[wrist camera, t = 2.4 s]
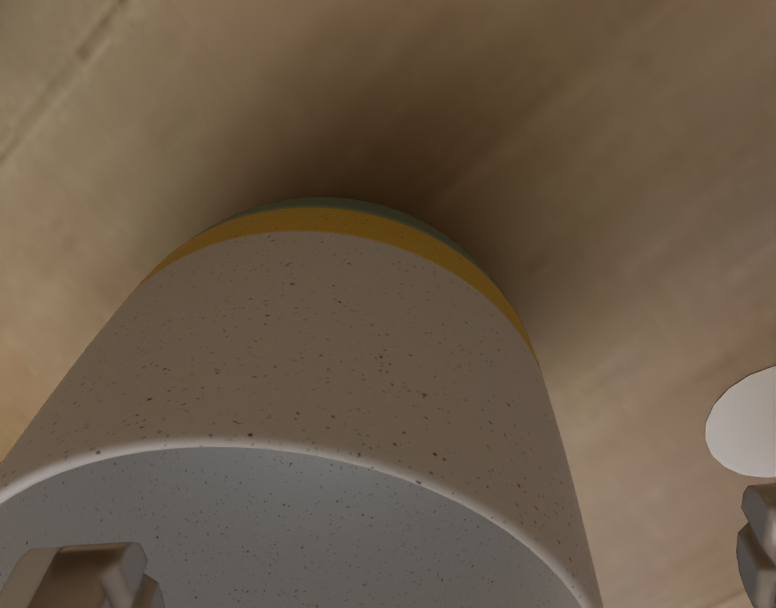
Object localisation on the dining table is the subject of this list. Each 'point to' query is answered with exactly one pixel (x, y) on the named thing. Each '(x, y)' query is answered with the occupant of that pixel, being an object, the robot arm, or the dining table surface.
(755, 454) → the wineglass
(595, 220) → the dining table surface
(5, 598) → the robot arm
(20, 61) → the dining table surface
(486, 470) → the planter
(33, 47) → the dining table surface
